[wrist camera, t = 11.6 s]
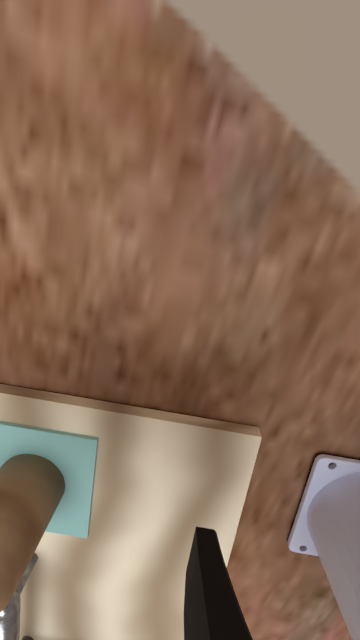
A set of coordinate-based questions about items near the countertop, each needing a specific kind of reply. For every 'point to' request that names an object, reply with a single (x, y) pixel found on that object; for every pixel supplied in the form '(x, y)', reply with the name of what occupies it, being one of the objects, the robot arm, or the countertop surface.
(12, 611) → the bent wire
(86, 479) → the pad
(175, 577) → the birch board
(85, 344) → the countertop surface
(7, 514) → the walnut cylinder
